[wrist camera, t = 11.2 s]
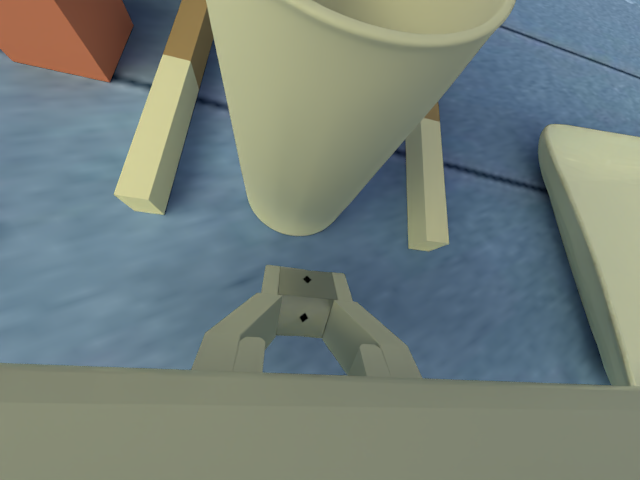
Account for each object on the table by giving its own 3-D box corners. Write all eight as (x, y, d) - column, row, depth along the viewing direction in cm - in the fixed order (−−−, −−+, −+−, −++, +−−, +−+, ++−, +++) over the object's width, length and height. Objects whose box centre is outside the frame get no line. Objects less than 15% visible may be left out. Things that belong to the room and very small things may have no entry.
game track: (428, 251, 17) (449, 243, 15) (134, 210, 14) (113, 194, 12) (415, -13, 25) (427, -39, 23) (225, -78, 21) (222, -115, 20)
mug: (332, 255, 15) (518, 104, 4) (224, 220, 15) (87, -90, 3) (365, 130, 19) (521, -149, 7) (279, 95, 18) (303, -279, 6)
